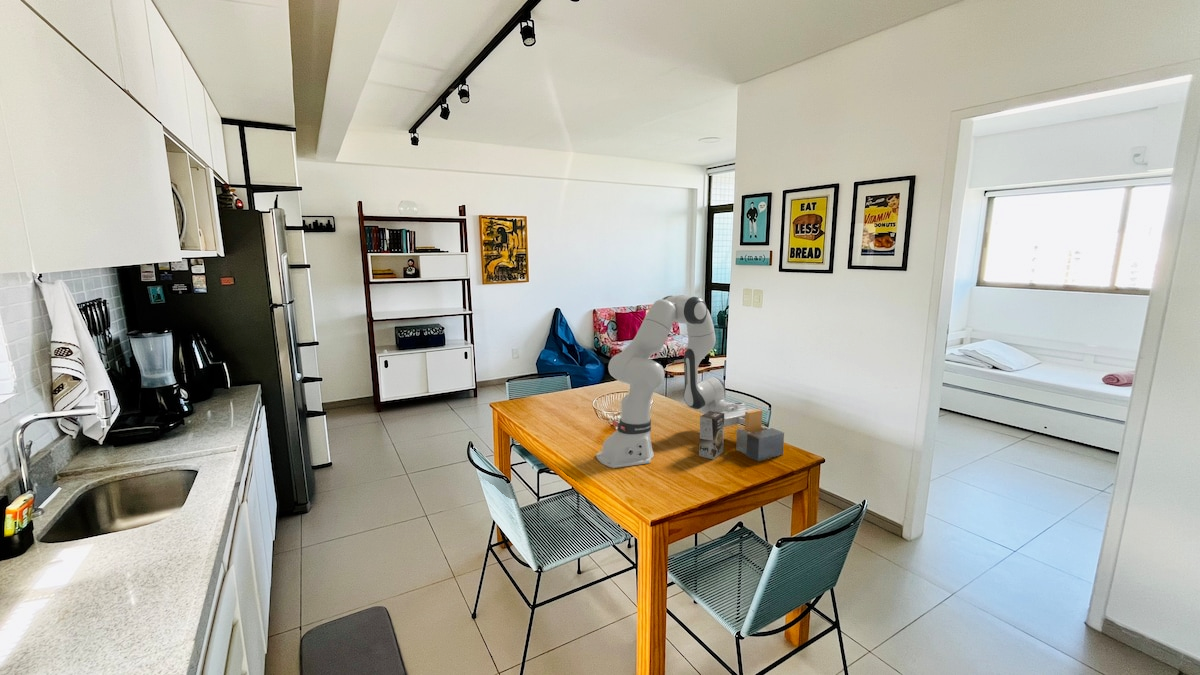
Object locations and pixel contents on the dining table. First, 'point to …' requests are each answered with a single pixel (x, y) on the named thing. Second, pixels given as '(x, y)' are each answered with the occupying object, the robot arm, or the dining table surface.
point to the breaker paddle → (753, 420)
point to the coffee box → (711, 434)
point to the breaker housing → (760, 443)
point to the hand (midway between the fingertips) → (751, 422)
